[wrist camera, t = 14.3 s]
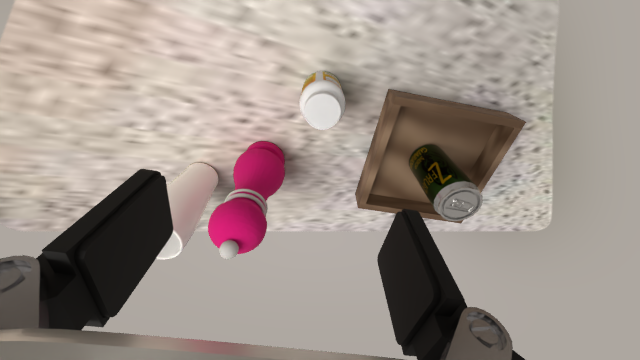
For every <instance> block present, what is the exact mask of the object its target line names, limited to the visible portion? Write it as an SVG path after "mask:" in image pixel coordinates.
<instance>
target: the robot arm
mask: <svg viewBox="0 0 640 360" xmlns="http://www.w3.org/2000/svg"><path fill="white" fill-rule="evenodd" d="M172 233H173V222H172V216H171V210H170V204H169V198H168V192H167V186H166V180H165V177H164V176H161V174H160V172H158V171H153V170H146V169H140V170H139V171H137V172H136V173H135V174H134V175H133V176H131V177H130V178H129V179H128V180H127V181H125V182H124V183H123V184H122V185H120V186H119V187H118V188H117V189H116V190H114V191H113V192H112V193H111V194H109V195H108V196H107V197H106V198H105V199H103V200H102V201H101V202H100V203H99V204H97V205H96V206H95V207H94V208H92V209H91V210H90V211H89V212H88V213H86V214H85V215H84V216H83V217H82V218H80V219H79V220H78V221H77V222H75V223H74V224H73V225H72V226H71V227H69V228H68V229H67V230H66V231H64V232H63V233H62V234H61V235H60V236H58V237H57V238H56V239H55V240H54V241H52V242H51V243H50V244H49V245H47V246H46V247H45V248H44V249H43V250H42V252H43V253H42V254H41V255H40V256H38V258H36V259H35V258H34V257H30V256H24V255H23V256H11V257H6V258H1V259H0V360H403V359H395V358H386V357H377V356H366V355H357V354H346V353H335V352H326V351H314V350H305V349H294V348H283V347H272V346H261V345H250V344H238V343H228V342H216V341H206V340H194V339H182V338H171V337H159V336H148V335H135V334H124V333H110V332H96V331H82V328H83V327H84V326H95V327H104V325H105V324H106V322H107V321H108V320H109V318H110V317H114V316H115V315H117V313H118V312H119V311H120V309H121V308H122V306H123V305H124V304H125V302H126V301H127V299H128V298H129V296H130V295H131V293H132V292H133V291H134V289H135V288H136V286H137V285H138V283H139V282H140V280H141V279H142V278H143V276H144V275H145V273H146V272H147V270H148V269H149V267H150V266H151V265H152V263H153V262H154V260H155V259H156V257H157V256H158V255H159V253H160V252H161V250H162V249H163V247H164V246H165V244H166V243H167V242H168V240H169V239H170V237H171V235H172ZM378 266H379V270H380V274H381V279H382V283H383V287H384V291H385V295H386V299H387V304H388V308H389V311H390V316H391V320H392V325H393V329H394V333H395V337H396V341H397V343H398V344H399V345H401V346H402V350H403V354H404V355H409V356H417V359H418V360H525V359H524V358H522V357H521V356H520V355H518V354H517V353H516V352H515V351H513V350H512V349H513V347H512V340H511V338H510V336H509V333H508V332H507V330H506V329H505V327H504V326H503V325H502V324H501V323H500V322H499V321H498V320H497V319H496V318H495V317H494V316H492V315H491V314H490V313H488V312H486V311H484V310H482V309H479V308H476V307H467V305H466V303H465V301H464V298H463V296H462V294H461V292H460V290H459V288H458V286H457V284H456V283H455V281H454V279H453V277H452V275H451V273H450V271H449V269H448V267H447V265H446V264H445V261H444V259H443V257H442V255H441V254H440V252H439V250H438V248H437V246H436V244H435V242H434V240H433V238H432V236H431V234H430V232H429V230H428V228H427V227H426V225H425V223H424V221H423V219H422V217H421V215H420V213H419V212H418V211H416V210H410V209H403V210H402V211H401V212H400V211H399V212H397V214H396V216H395V219H394V221H393V223H392V225H391V227H390V230H389V232H388V234H387V237H386V239H385V241H384V243H383V245H382V248H381V250H380V252H379V254H378Z"/></svg>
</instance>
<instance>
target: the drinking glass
mask: <svg viewBox="0 0 640 360" xmlns="http://www.w3.org/2000/svg"><path fill="white" fill-rule="evenodd" d="M217 184H218V175H217V173H216V171H215V170H214V169H213V168H212V167H211V166H209V165H207V164H204V163H193V164H191V165H189V166H188V167H187V168H186V169H185V170H184V171H183V172H182V173H181V174H180V175H179V176H178V177H176V178H175V179H174V180H173V181H172V182H171V183H169V184H168V185H167V192H168V198H169V204H170V210H171V216H172V222H173V233H172V235H171V237H170V239H169V240H168V242H167V243H166V244H165V246H164V247H163V249H162V250H161V252H160V253H159V255H158V256H157V257H156V259H171V258H174V257H176V256H177V255H179V254H180V253H181V252H182V250H183V248H184V247H185V246H186V244H187V243H188V241H189V239H190V238H191V236H192V235H193V233H194V231H195V229H196V227H197V225H198V223H199V221H200V219H201V217H202V215H203V212H204V210H205V208H206V206H207V204H208V201H209V199H210V197H211V195H212V193H213V191H214V189H215V188H216V186H217Z"/></svg>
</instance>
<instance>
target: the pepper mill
mask: <svg viewBox="0 0 640 360" xmlns="http://www.w3.org/2000/svg"><path fill="white" fill-rule="evenodd" d="M284 162H285V159H284V155H283V153H282V151H281V150H280V149H279V147H277V146H276V145H274V144H273V143H270V142H266V141H260V142H256V143H254V144H252V145H251V146H250V147H249V148H248V149H247V151H246V152H244V153H243V154H242V155H241V156H240V157H239V158H238V160H237V162H236V164H235V167H234V174H233V177H234V182H235V190H234V191H232V192H231V193H229V194H228V196H227V197H226V200H225V201H224V203H223V204H221V205H219V206H218V207H217V208H216V209H215V210H214V212H213V213H212V215H211V217H210V220H209V225H208V232H209V236H210V238H211V240H212V241H213V243H214V244H215V245H216V246H217V247H218V248H219V252H220V255H221V256H222V257H223V258H225V259H231V258H233V257H235V256H236V255H237V254H241V253H246V252H249V251H251V250H253V249H254V248H256V247H257V246H258V245H259V244H260V243H261V241H262V240H263V238H264V236H265V233H266V229H267V222H266V218H265V217H266V213H267V203H266V200H267V198H268V197H269V196H271V195H273V194H274V193H275V192H276V191H277V190H278V189H279V188H280V186H281V185H282V182H283V180H284V176H285V170H284Z"/></svg>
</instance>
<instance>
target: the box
mask: <svg viewBox="0 0 640 360" xmlns="http://www.w3.org/2000/svg"><path fill="white" fill-rule="evenodd" d="M525 123H526V122H525V121H523V120H521V119H519V118H517V117H515V116H513V115H511V114H509V113H506V112H501V111H496V110H491V109H486V108H481V107H476V106H471V105H466V104H461V103H456V102H451V101H446V100H441V99H436V98H431V97H426V96H421V95H416V94H411V93H406V92H401V91H396V90H391V89H388V92H387V96H386V99H385V102H384V105H383V108H382V111H381V114H380V118H379V121H378V124H377V127H376V130H375V133H374V136H373V139H372V143H371V146H370V149H369V152H368V155H367V158H366V161H365V165H364V168H363V171H362V174H361V177H360V180H359V183H358V187H357V190H356V193H355V195H356V200H357V205H358V208H362V209H368V210H375V211H382V212H389V213H395V214H397V212H399V211H400V212H401V211H402V210H403V209H410V210H416V211H418V212H419V213H420V215H421V217H422V218H429V219H435V220H442V221H449V220H446V219H444V218H443V217H442V216H441V215H440V214H438V213H437V212H436V211H435V209H434V207H433V206H432V204H431V203H430V201H429V199H428V198H427V196H426V194H425V193H424V191H423V189H422V188H421V186H420V184H419V183H418V181H417V179H416V178H415V176H414V174H413V173H412V171H411V169H410V167H409V158H410V156H411V153H412V152H413V151H414V150H415V149H416V148H418V147H419V146H422V145H426V144H432V145H437V146H438V147H440V148H441V149H442V150H443V151H444V152H445V153H446V154H447V155H448V156H449V157H450V158H451V159H452V160H453V162H454V163H455V164H456V165H457V166H458V167H459V168H460V169H461V170H462V171H463V172H464V173H465V174H466V175H467V176H468V177H469V178H470V180H471V181H472V182H473V183H474V184H475V185H476V186H477V187H478V189H479V191H480V193H481V192H482V190H483V188H484V187H485V185H486V184H487V182H488V181H489V179H490V178H491V176H492V174H493V173H494V171H495V170H496V168H497V167H498V165H499V164H500V162H501V160H502V159H503V157H504V156H505V154H506V153H507V151H508V149H509V148H510V146H511V145H512V143H513V142H514V140H515V139H516V137H517V135H518V134H519V132H520V131H521V129H522V128H523V126H524V125H525ZM462 221H463V220H461V221H449V222H456V223H462Z"/></svg>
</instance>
